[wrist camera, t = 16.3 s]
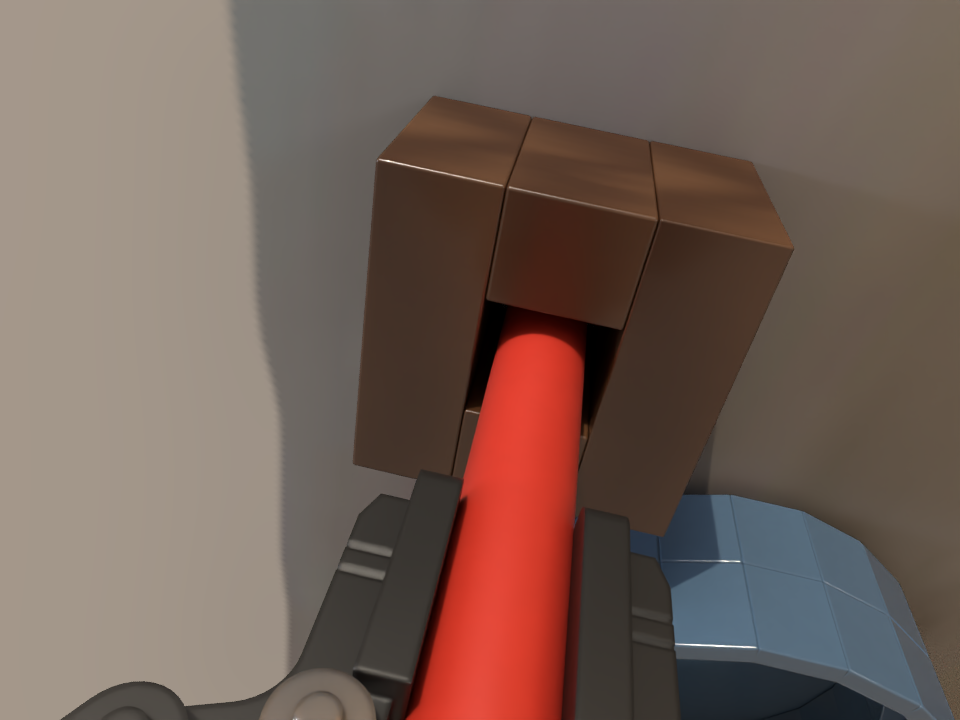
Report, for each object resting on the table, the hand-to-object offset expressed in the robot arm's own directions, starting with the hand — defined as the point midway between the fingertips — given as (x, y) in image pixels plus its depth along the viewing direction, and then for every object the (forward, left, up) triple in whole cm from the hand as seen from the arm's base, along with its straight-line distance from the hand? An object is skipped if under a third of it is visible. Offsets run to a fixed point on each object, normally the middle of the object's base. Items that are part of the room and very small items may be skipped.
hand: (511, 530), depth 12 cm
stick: (0, 0, -9) cm, 9 cm away
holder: (0, 0, -10) cm, 10 cm away
